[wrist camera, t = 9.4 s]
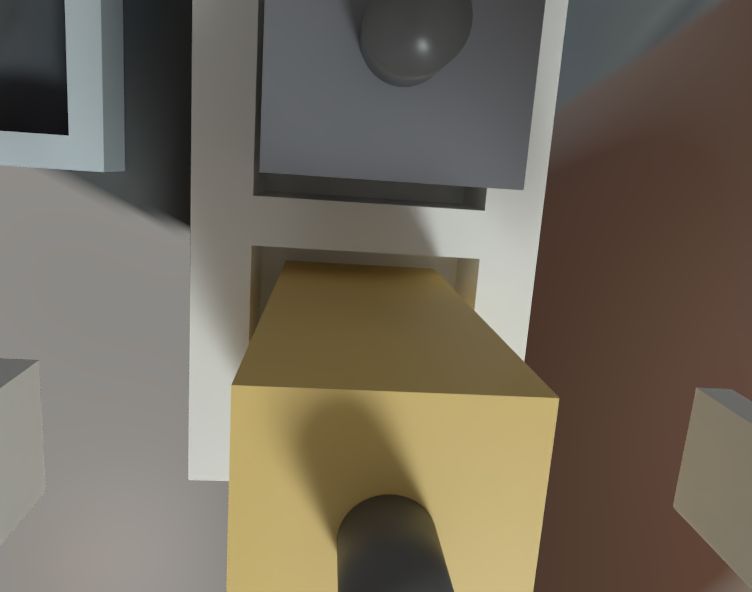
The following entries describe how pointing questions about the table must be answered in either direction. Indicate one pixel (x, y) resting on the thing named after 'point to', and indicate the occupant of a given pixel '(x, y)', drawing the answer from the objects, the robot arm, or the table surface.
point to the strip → (330, 218)
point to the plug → (383, 441)
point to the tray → (83, 97)
